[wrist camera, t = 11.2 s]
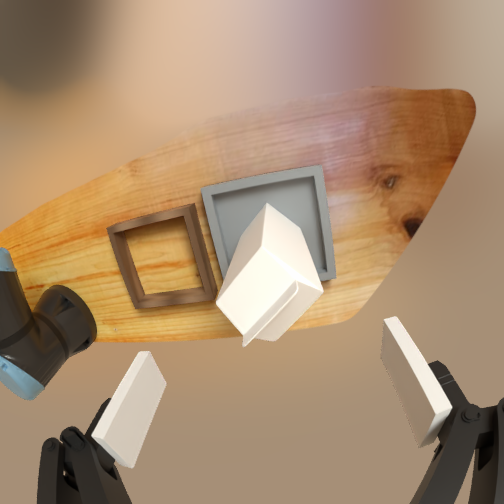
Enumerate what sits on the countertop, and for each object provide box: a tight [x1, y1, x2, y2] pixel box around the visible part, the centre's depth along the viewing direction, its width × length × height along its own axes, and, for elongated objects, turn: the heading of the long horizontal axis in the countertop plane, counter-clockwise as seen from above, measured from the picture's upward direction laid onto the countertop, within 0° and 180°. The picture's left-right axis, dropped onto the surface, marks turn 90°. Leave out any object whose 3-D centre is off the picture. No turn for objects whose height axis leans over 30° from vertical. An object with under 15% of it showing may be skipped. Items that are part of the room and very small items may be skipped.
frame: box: [107, 203, 218, 309], centre depth 40 cm, size 14×14×3 cm
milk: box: [216, 203, 324, 347], centre depth 28 cm, size 6×6×22 cm
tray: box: [200, 165, 336, 281], centre depth 38 cm, size 16×16×2 cm
